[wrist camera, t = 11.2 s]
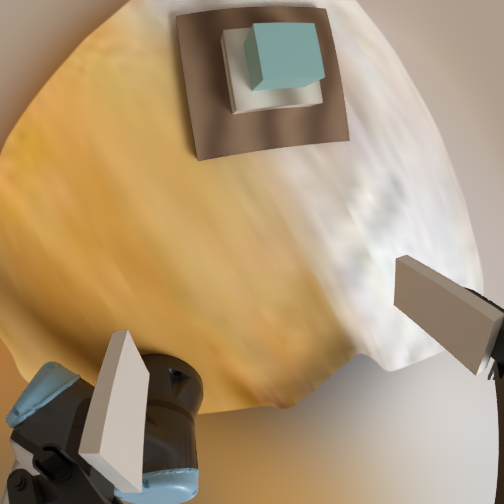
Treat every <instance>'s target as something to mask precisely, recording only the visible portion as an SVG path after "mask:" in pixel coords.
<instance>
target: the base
mask: <svg viewBox="0 0 504 504" xmlns="http://www.w3.org/2000/svg"><path fill="white" fill-rule="evenodd" d="M176 21H177V29H178V37H179V44H180V52H181V59H182V66H183V73H184V79H185V86H186V92H187V99H188V105H189V111H190V117H191V123H192V129H193V135H194V141H195V147H196V153H197V158H198V161H202V160H207V159H212V158H218V157H223V156H229V155H235V154H241V153H247V152H253V151H260V150H267V149H274V148H282V147H290V146H299V145H308V144H318V143H328V142H341V141H350V139H349V130H348V122H347V115H346V108H345V101H344V94H343V88H342V82H341V76H340V71H339V65H338V60H337V55H336V50H335V45H334V41H333V36H332V32H331V28H330V23H329V19H328V15H327V11H326V9H323V8H309V7H246V8H232V9H221V10H212V11H205V12H198V13H191V14H185V15H180V16H176ZM254 23H314V24H315V29H316V33H317V38H318V43H319V47H320V52H321V57H322V63H323V68H324V74H325V77H324V78H322V79H320V80H318V81H316V82H314V83H312V84H310V85H308V86H306V87H300V88H283V89H270V90H259V91H252V89H251V83H250V77H249V71H248V65H247V59H246V53H245V48H244V42H245V39H246V37H247V35H248V33H249V31H250V29H251V27H252V25H253V24H254Z"/></svg>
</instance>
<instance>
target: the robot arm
mask: <svg viewBox="0 0 504 504" xmlns="http://www.w3.org/2000/svg"><path fill="white" fill-rule="evenodd" d="M394 305H395V306H396V307H397V308H398V309H400V310H401V311H402V312H403V313H404V314H406V315H407V316H408V317H409V318H410V319H411V320H413V321H414V322H415V323H416V324H417V325H419V326H420V327H421V328H422V329H423V330H424V331H426V332H427V333H428V334H429V335H430V336H431V337H433V338H434V339H435V340H436V341H437V342H438V343H440V344H441V345H442V346H443V347H444V348H445V349H446V350H447V351H449V352H450V353H451V354H452V355H453V356H454V357H455V358H457V359H458V360H459V361H460V362H461V363H462V364H463V365H464V366H465V367H466V368H468V369H469V370H470V371H471V372H472V373H473V374H474V375H475V376H476V375H478V374H479V373H480V372H481V371H483V370H484V369H485V368H486V367H487V365H488V362H489V359H490V357H492V358H493V359H494V360H495V361H494V363H493V366H492V368H491V371H490V373H489V375H488V380H490V378H491V376H492V374H493V373H494V377H493V380H495V386H496V395H497V407H498V425H499V461H498V478H497V489H496V498H495V504H504V309H502V308H501V307H499V306H498V305H496V304H495V303H493V302H492V301H490V300H488V299H487V298H485V297H484V296H481V295H480V294H479V293H477V292H476V291H474V290H471V289H468V288H465V287H462V286H460V285H458V284H457V283H455V282H453V281H452V280H450V279H448V278H447V277H445V276H443V275H442V274H440V273H438V272H436V271H435V270H433V269H431V268H430V267H428V266H426V265H424V264H423V263H421V262H419V261H417V260H415V259H414V258H412V257H410V256H408V255H405V256H402V257H399V258H396V272H395V294H394ZM202 400H203V383H202V380H201V377H200V376H199V374H198V373H197V372H196V371H195V369H193V368H192V367H191V366H190V365H188V364H187V363H185V362H183V361H181V360H179V359H176V358H174V357H170V356H166V355H157V354H151V355H143V356H140V354H139V352H138V350H137V348H136V346H135V344H134V342H133V339H132V337H131V335H130V333H129V331H128V329H126V330H121V331H116V332H113V334H112V336H111V339H110V342H109V345H108V348H107V351H106V354H105V357H104V360H103V363H102V366H101V369H100V373H99V376H98V379H97V382H96V386H95V387H94V386H93V385H91V384H90V383H88V382H86V381H85V380H84V379H82V378H81V376H80V375H78V374H75V373H73V372H71V371H70V370H68V369H67V368H65V367H64V366H62V365H60V364H59V363H57V362H47V363H45V364H44V365H43V366H42V367H41V369H40V370H39V371H38V372H37V374H36V375H35V376H34V378H33V379H32V380H31V382H30V383H29V384H28V386H27V387H26V389H25V390H24V391H23V393H22V394H21V396H20V397H19V399H18V400H17V402H16V403H15V405H14V406H13V408H12V409H11V411H10V412H9V414H8V415H7V417H6V422H7V423H8V425H9V427H11V428H14V430H13V432H12V434H11V437H10V439H9V441H10V444H11V446H12V449H13V451H14V454H15V461H14V463H13V466H12V469H11V472H10V474H9V477H8V480H7V484H6V487H5V490H4V493H3V497H2V500H1V504H123V503H122V502H121V501H120V500H119V498H120V499H122V500H124V501H127V502H131V503H135V504H179V503H182V502H186V501H188V500H190V499H192V498H193V497H194V496H195V495H196V494H197V491H198V475H199V470H198V463H197V451H196V439H195V425H194V421H195V418H196V416H197V413H198V411H199V408H200V406H201V403H202ZM116 496H117V497H116Z"/></svg>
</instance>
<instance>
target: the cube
mask: <svg viewBox="0 0 504 504" xmlns="http://www.w3.org/2000/svg"><path fill="white" fill-rule="evenodd" d="M244 48H245V53H246V59H247V65H248V71H249V77H250V83H251V89H252V91H259V90H270V89H283V88H300V87H306V86H308V85H310V84H312V83H314V82H316V81H318V80H320V79H322V78H324V77H325V74H324V68H323V63H322V57H321V52H320V47H319V43H318V38H317V33H316V29H315V24H314V23H254V24H253V25H252V27H251V29H250V31H249V33H248V35H247V37H246V39H245V42H244Z"/></svg>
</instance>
